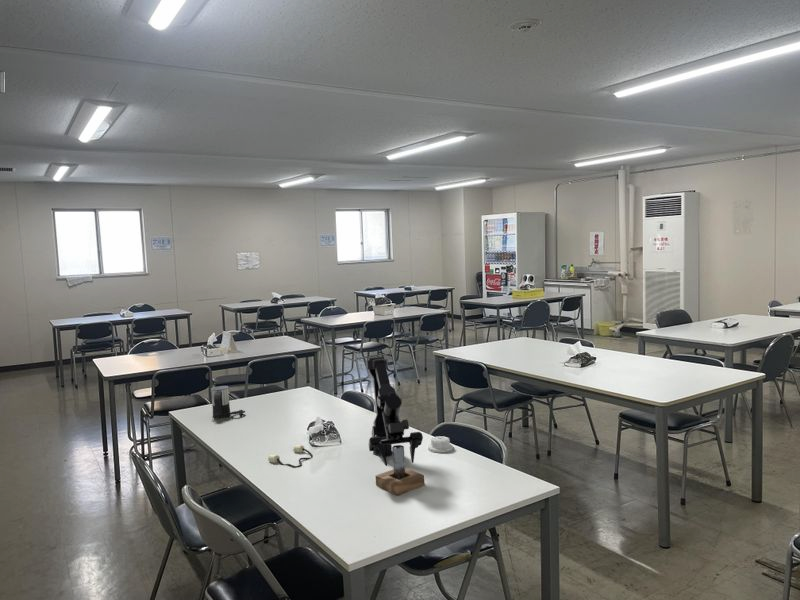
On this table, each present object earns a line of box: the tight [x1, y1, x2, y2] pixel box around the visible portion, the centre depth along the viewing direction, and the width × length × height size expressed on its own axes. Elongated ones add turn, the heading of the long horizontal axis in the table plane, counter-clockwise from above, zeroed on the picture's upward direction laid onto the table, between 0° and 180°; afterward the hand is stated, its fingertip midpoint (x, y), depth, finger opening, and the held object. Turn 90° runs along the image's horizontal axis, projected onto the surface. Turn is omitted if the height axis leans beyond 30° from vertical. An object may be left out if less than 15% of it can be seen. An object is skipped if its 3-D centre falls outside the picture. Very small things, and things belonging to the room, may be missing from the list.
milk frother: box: [210, 385, 246, 418], centre depth 299 cm, size 14×16×15 cm
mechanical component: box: [427, 435, 454, 454], centre depth 234 cm, size 10×4×10 cm
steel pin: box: [392, 444, 406, 480], centre depth 200 cm, size 4×4×13 cm
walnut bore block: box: [375, 466, 426, 496], centre depth 200 cm, size 12×12×4 cm
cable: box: [267, 444, 314, 469], centre depth 231 cm, size 16×16×4 cm
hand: (399, 463), depth 198 cm, fingers open, 9 cm apart
